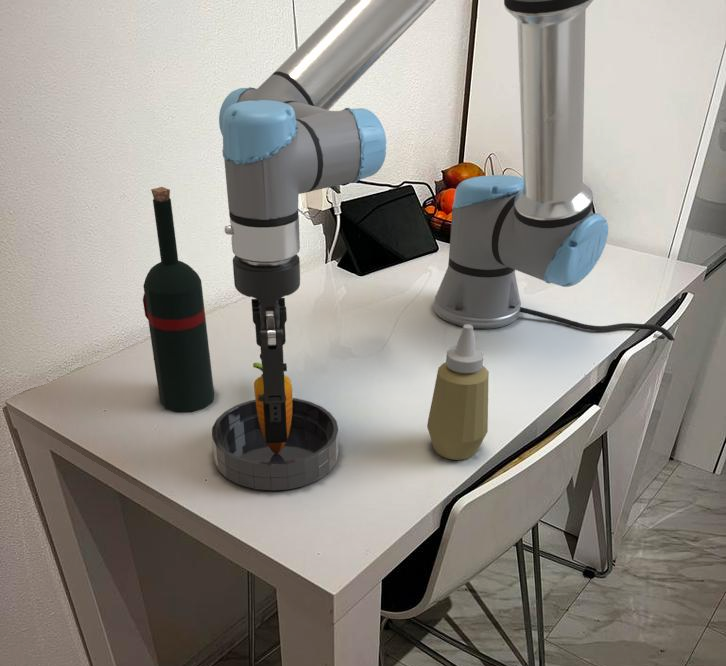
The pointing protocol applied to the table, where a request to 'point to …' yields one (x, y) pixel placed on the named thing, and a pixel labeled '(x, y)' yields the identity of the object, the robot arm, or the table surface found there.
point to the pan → (256, 460)
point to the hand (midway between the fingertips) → (275, 429)
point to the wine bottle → (177, 321)
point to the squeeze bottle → (460, 401)
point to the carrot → (260, 409)
